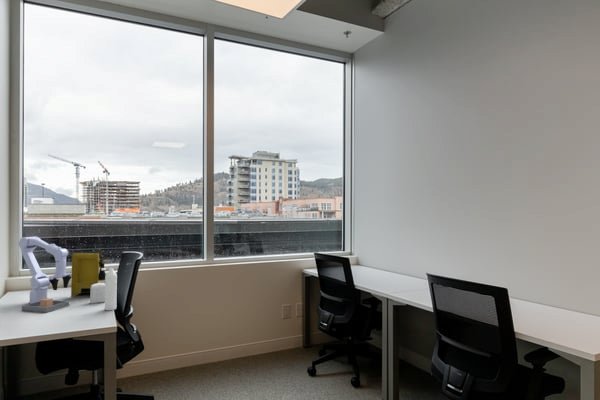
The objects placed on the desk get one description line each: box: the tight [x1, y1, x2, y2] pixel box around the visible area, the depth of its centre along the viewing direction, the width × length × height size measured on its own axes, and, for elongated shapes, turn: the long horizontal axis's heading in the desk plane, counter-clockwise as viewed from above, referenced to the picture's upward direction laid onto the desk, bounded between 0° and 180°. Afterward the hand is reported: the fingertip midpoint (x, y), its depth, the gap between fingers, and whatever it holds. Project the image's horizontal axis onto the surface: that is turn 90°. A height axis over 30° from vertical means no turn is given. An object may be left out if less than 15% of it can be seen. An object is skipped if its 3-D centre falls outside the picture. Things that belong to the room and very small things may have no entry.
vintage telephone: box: [70, 253, 109, 298], centre depth 265 cm, size 31×14×30 cm, turn 92°
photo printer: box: [89, 282, 105, 304], centre depth 243 cm, size 10×4×12 cm, turn 123°
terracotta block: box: [40, 297, 54, 307], centre depth 227 cm, size 5×4×5 cm
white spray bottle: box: [101, 267, 118, 311], centre depth 226 cm, size 9×6×25 cm
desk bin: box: [21, 299, 70, 314], centre depth 227 cm, size 18×16×3 cm
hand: (60, 288), depth 240 cm, fingers open, 7 cm apart
